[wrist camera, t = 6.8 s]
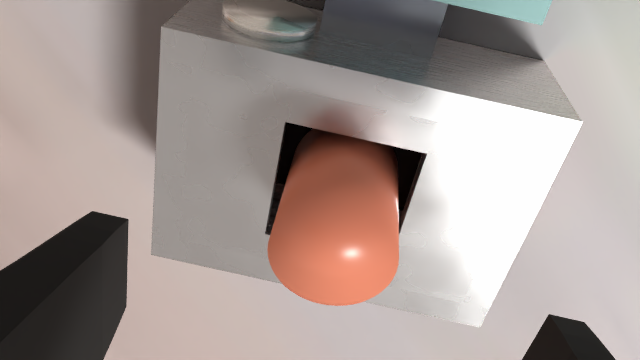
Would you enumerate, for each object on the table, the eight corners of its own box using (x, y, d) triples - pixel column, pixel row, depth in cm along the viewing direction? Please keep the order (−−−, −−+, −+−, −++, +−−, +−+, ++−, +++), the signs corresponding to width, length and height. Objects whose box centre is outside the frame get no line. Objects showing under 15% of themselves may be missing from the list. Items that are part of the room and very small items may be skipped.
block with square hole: (549, 49, 17) (589, 108, 13) (465, 243, 21) (480, 327, 17) (209, -28, 16) (161, 12, 13) (191, 182, 20) (151, 254, 17)
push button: (410, 133, 16) (414, 219, 12) (382, 219, 17) (380, 316, 14) (303, 109, 16) (277, 189, 12) (285, 198, 17) (259, 290, 14)
